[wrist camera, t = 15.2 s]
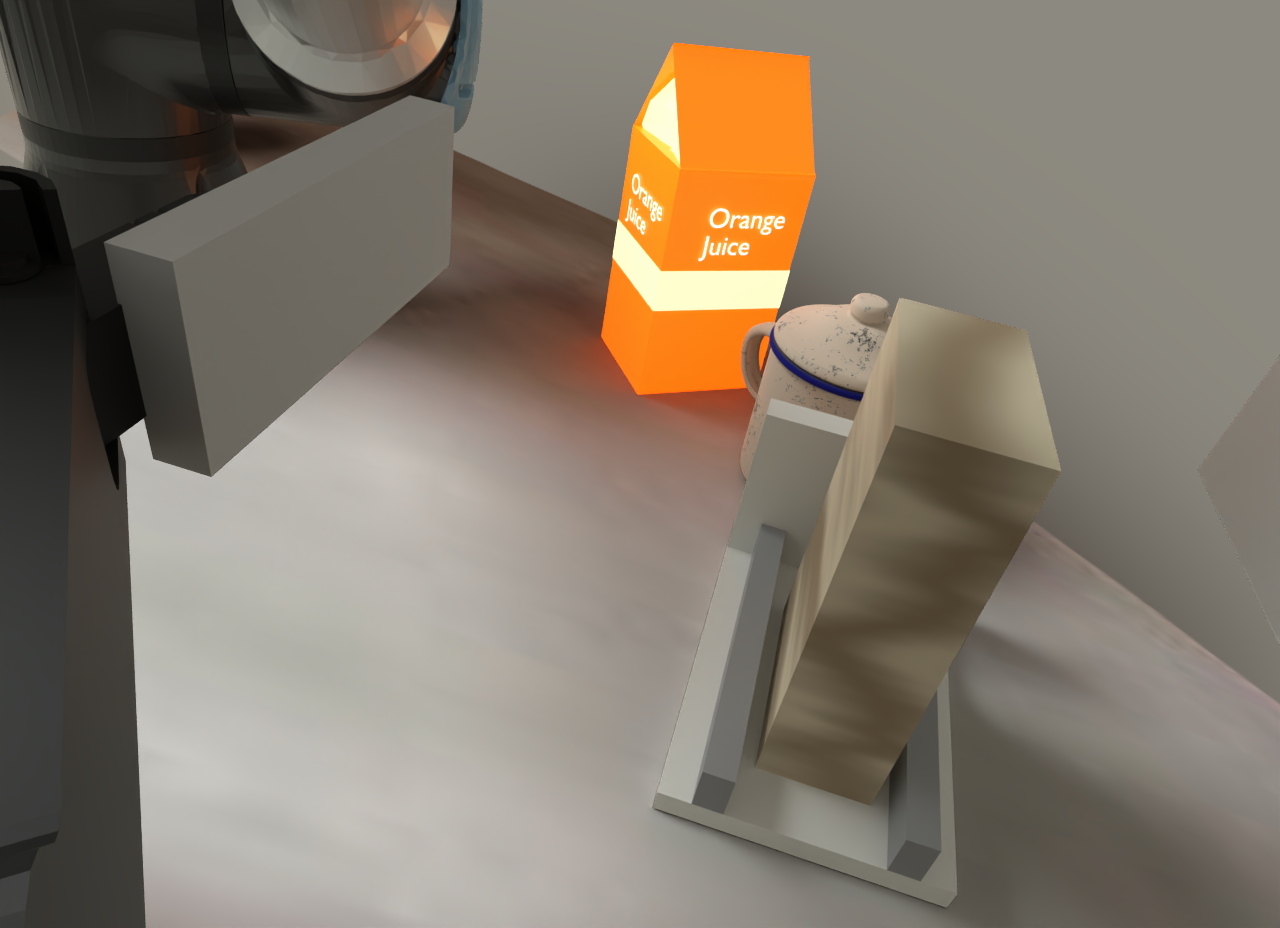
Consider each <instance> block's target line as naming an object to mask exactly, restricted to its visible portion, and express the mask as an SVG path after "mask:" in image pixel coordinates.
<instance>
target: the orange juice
mask: <svg viewBox="0 0 1280 928" xmlns="http://www.w3.org/2000/svg"><path fill="white" fill-rule="evenodd" d="M809 58H810V57H808V56H798V55H787V54H778V53H769V52H759V51H749V50H739V49H729V48H719V47H709V46H700V45H690V44H681V43H674V44H673V46H672V48H671V50H670V52H669V54H668V56H667V58H666V61H665V62H664V65H663V67H662V69H661V71H660V73H659V75H658V77H657V79H656V81H655V83H654V85H653V87H652V89H651V91H650V93H649V95H648V97H647V99H646V101H645V104H644V106H643V108H642V110H641V112H640V114H639V116H638V118H637V120H636V122H635V124H634V125H633V130H632V137H631V144H630V150H629V157H628V163H627V170H626V177H625V183H624V190H623V196H622V203H621V210H620V216H619V220H618V224H617V230H616V237H615V244H614V250H613V262H612V269H611V276H610V282H609V289H608V296H607V302H606V309H605V315H604V322H603V329H602V335H601V337H602V339H603V340H604V342H605V343H606V345H607V347H608V348H609V350H610V351H611V353H612V355H613V356H614V358H615V359H616V361H617V362H618V364H619V366H620V367H621V369H622V370H623V372H624V374H625V375H626V377H627V378H628V380H629V382H630V383H631V385H632V386H633V388H634V389H635V391H636V393H637V394H638V395H640V394H656V393H671V392H687V391H703V390H719V389H735V388H747V387H746V385H745V382H744V379H743V375H742V369H741V349H742V344H743V341H744V338H745V336H746V334H747V332H748V331H749V330H750V329H751V328H752V327H753V326H755V325H758V324H761V323H765V322H775V318H776V315H777V311H778V308H779V307H780V304H781V300H782V297H783V293H784V290H785V286H786V283H787V279H788V276H789V272H790V271H789V269H790V265H791V262H792V258H793V255H794V251H795V248H796V244H797V241H798V237H799V233H800V230H801V226H802V222H803V219H804V216H805V212H806V208H807V205H808V202H809V198H810V194H811V191H812V187H813V184H814V180H815V177H816V174H814V154H813V134H812V116H811V115H812V114H811V94H810V74H809ZM768 343H769V337H767V336H764V338H763V340H762V342H761V346H760V352H759V364H760V370H761V368H762V364H763V361H764V357H765V354H766V350H767V347H768Z"/></svg>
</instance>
